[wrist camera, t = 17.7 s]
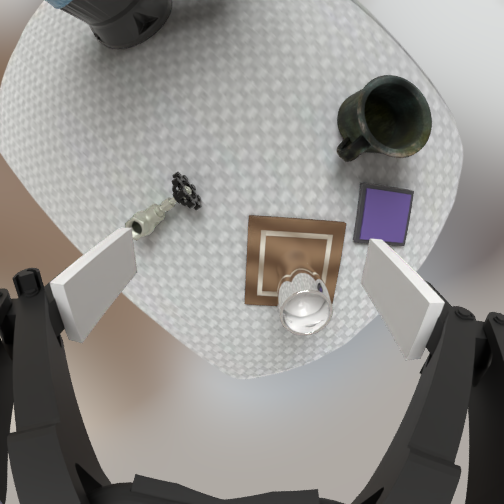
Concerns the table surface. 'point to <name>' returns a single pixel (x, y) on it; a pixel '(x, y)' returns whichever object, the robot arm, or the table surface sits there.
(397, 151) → the mug
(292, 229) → the board
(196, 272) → the table surface
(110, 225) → the table surface
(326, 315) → the beer glass
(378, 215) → the ink pad
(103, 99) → the table surface
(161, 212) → the valve
